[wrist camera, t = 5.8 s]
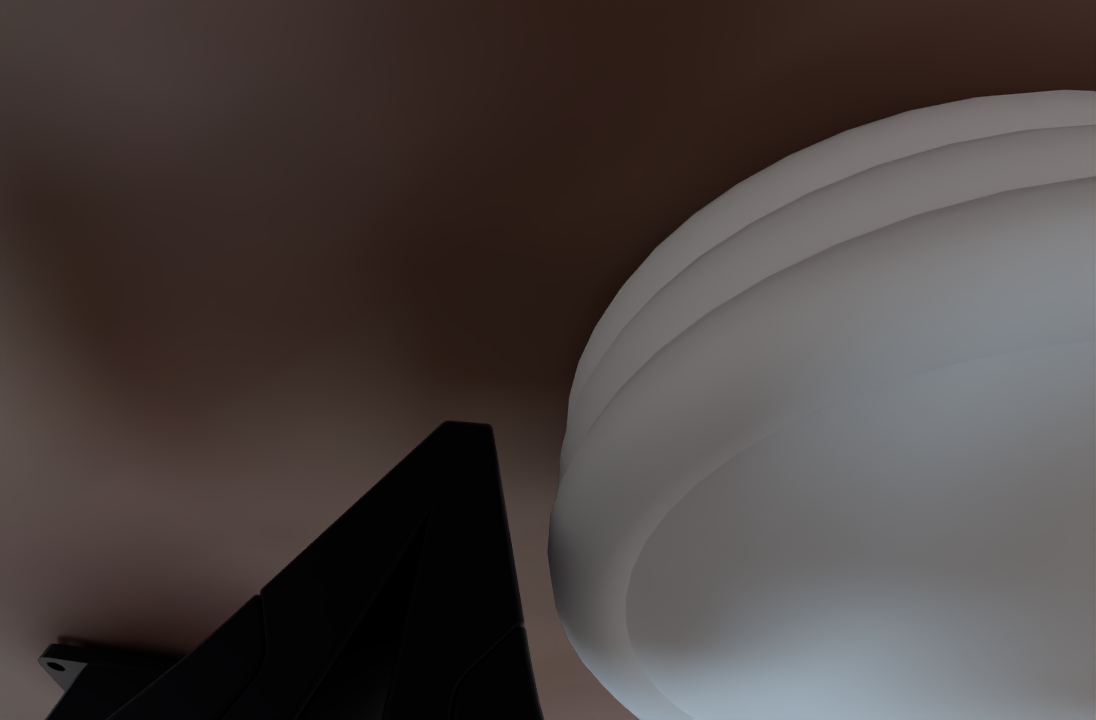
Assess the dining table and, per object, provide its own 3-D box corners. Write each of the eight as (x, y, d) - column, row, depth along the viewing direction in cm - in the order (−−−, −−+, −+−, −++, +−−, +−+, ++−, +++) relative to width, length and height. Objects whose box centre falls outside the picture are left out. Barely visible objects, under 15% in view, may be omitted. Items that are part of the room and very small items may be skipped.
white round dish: (447, 307, 9) (360, 486, 6) (1375, -160, 5) (2224, -225, 2) (716, 648, 14) (733, 840, 11) (1322, 542, 10) (1591, 801, 7)
